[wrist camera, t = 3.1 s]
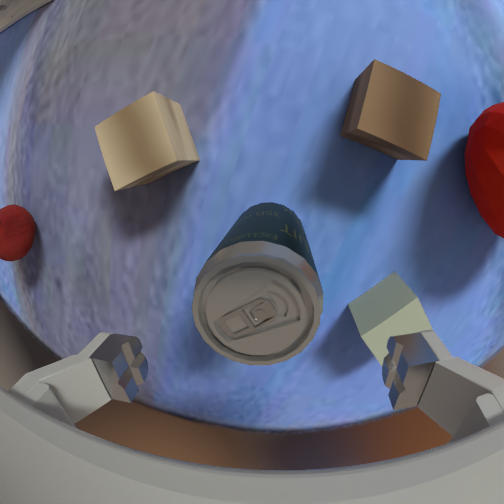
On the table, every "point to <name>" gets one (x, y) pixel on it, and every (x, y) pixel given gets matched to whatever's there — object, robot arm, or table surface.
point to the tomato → (487, 166)
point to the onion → (15, 232)
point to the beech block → (145, 141)
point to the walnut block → (391, 113)
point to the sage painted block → (387, 314)
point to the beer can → (259, 289)
